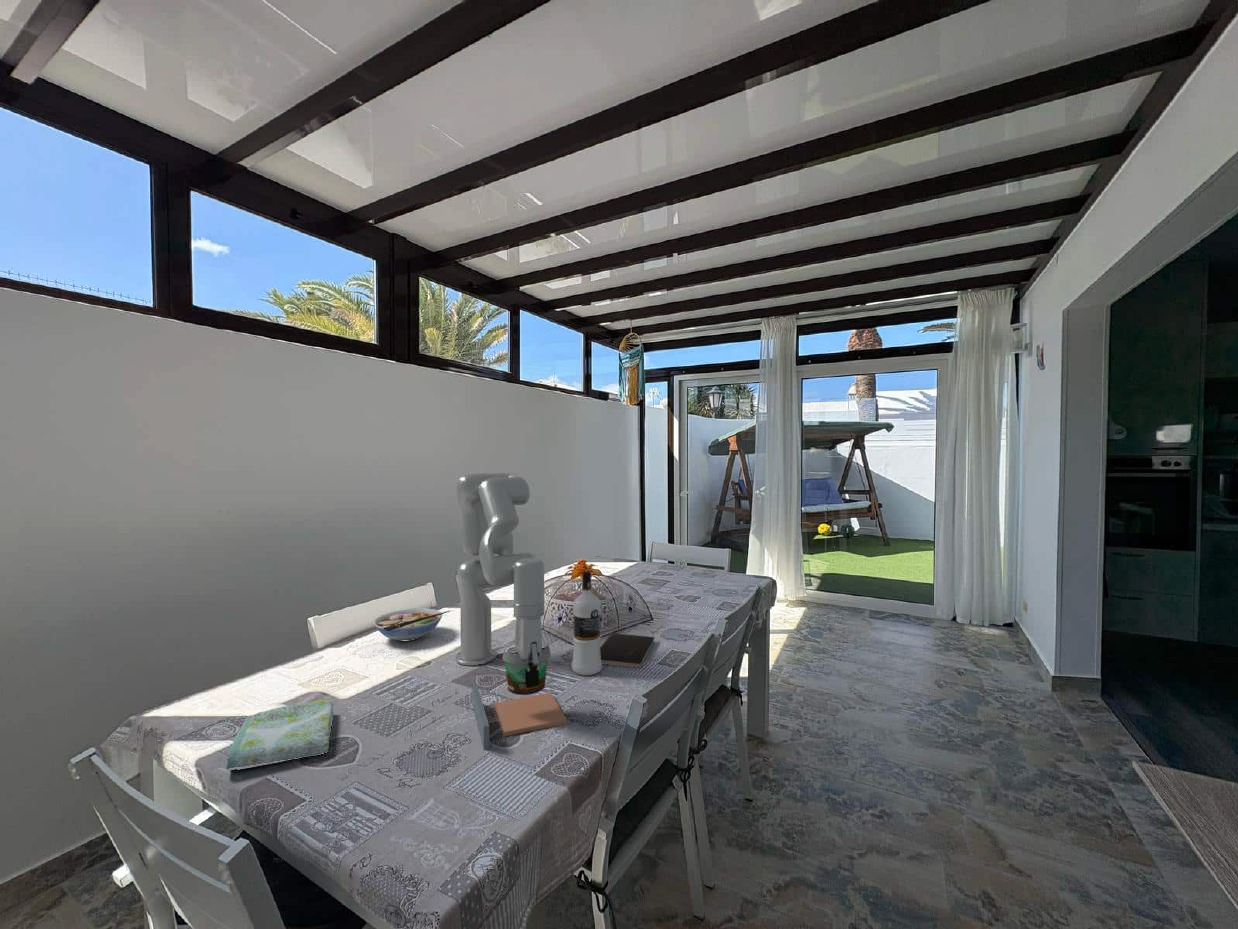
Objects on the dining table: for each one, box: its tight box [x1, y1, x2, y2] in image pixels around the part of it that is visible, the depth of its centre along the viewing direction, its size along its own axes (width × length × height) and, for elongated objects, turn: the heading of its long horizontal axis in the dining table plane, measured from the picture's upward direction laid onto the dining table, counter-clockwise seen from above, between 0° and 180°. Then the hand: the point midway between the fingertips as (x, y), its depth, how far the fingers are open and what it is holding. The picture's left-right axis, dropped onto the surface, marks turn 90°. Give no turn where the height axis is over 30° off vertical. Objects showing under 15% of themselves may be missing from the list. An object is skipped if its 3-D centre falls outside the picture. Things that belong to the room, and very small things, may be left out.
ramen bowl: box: [373, 607, 451, 641], centre depth 181 cm, size 25×23×8 cm
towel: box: [226, 699, 334, 770], centre depth 115 cm, size 18×21×5 cm
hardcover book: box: [600, 632, 655, 668], centre depth 168 cm, size 16×23×2 cm
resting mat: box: [493, 692, 568, 737], centre depth 127 cm, size 15×15×1 cm
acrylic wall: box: [471, 684, 490, 750], centre depth 123 cm, size 22×1×5 cm, turn 22°
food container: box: [501, 643, 551, 696], centre depth 126 cm, size 12×6×10 cm, turn 117°
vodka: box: [571, 570, 603, 676], centre depth 154 cm, size 9×9×30 cm
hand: (529, 680), depth 127 cm, fingers closed on food container, 5 cm apart
